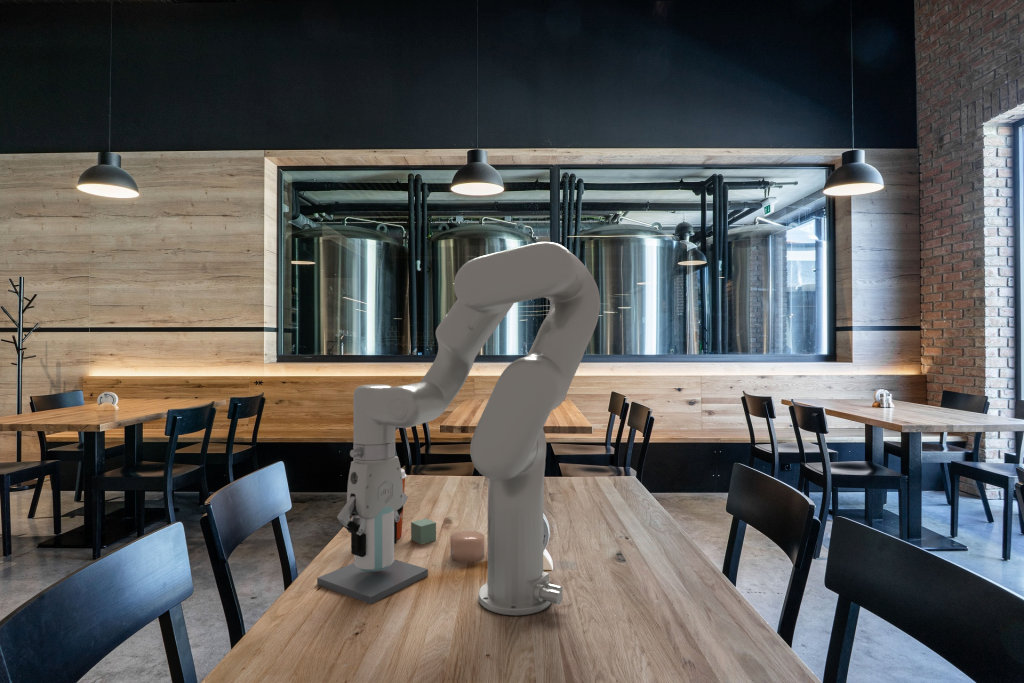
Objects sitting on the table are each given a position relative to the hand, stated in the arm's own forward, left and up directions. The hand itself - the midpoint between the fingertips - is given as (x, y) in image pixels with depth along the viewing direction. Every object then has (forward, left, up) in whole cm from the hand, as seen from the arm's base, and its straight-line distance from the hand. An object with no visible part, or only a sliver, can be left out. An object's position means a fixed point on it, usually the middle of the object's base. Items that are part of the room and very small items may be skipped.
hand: (374, 547), depth 102 cm
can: (0, 0, -4) cm, 4 cm away
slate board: (0, 0, -6) cm, 6 cm away
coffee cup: (+15, -18, -6) cm, 24 cm away
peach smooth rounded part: (-7, -19, -6) cm, 21 cm away
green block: (+7, -21, -6) cm, 23 cm away
